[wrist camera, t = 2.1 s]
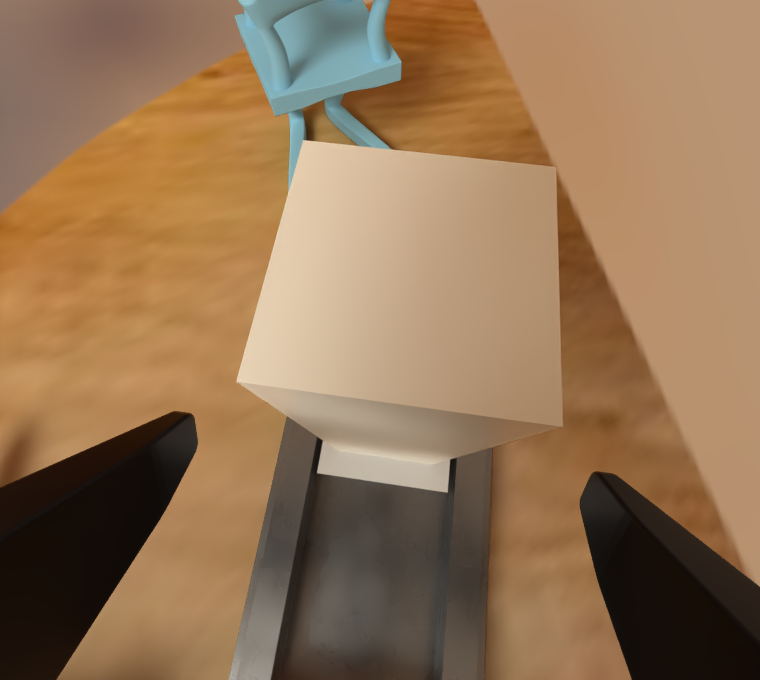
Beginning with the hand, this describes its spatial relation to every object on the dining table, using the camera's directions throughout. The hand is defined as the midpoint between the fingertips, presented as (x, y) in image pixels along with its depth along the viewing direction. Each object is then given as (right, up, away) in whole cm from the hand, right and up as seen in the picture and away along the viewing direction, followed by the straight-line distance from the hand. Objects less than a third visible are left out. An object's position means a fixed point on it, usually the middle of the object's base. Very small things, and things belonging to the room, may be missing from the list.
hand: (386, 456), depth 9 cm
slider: (0, -1, +10) cm, 11 cm away
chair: (-3, +15, +17) cm, 23 cm away
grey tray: (0, -6, +9) cm, 11 cm away
